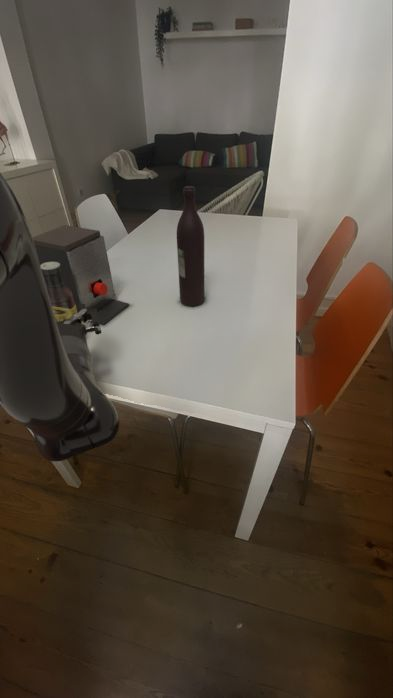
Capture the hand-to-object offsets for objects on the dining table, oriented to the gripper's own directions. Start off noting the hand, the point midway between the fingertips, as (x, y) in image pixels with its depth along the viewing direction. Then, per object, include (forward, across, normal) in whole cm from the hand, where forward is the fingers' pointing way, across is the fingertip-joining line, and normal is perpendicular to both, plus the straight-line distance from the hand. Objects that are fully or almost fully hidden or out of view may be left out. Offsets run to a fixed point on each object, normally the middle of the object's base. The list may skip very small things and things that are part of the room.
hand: (58, 310), depth 66 cm
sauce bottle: (+5, 0, +12) cm, 13 cm away
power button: (+16, -10, +6) cm, 20 cm away
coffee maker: (+20, -7, +12) cm, 24 cm away
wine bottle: (+12, -35, +12) cm, 38 cm away
